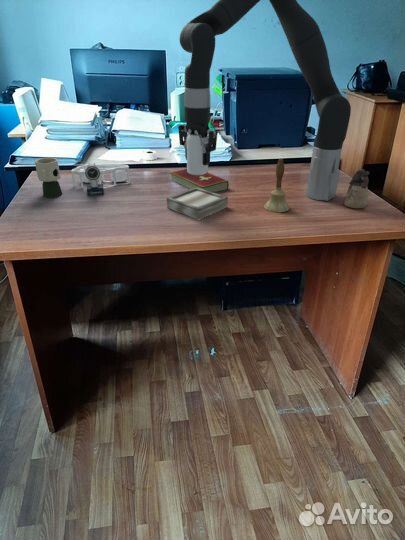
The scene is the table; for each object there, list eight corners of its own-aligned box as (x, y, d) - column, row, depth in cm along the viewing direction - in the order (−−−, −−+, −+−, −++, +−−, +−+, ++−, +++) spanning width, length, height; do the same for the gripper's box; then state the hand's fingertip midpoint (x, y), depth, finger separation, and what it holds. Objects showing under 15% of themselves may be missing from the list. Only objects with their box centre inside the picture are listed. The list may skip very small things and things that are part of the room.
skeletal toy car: (131, 181, 154) (129, 162, 150) (129, 190, 145) (127, 171, 141) (79, 182, 153) (76, 163, 149) (73, 192, 143) (69, 172, 140)
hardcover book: (194, 176, 160) (194, 165, 158) (228, 190, 146) (228, 179, 144) (169, 182, 154) (169, 171, 152) (202, 197, 140) (202, 186, 138)
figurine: (356, 199, 138) (363, 165, 131) (370, 207, 132) (379, 171, 126) (339, 202, 135) (346, 167, 129) (353, 209, 130) (361, 173, 124)
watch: (87, 199, 136) (83, 168, 131) (88, 191, 143) (83, 161, 137) (104, 198, 138) (100, 167, 132) (104, 190, 144) (100, 160, 139)
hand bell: (270, 213, 127) (275, 164, 119) (260, 204, 134) (264, 156, 125) (293, 211, 129) (300, 162, 120) (282, 202, 136) (288, 154, 127)
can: (207, 175, 122) (208, 135, 116) (186, 175, 122) (185, 135, 116) (207, 169, 127) (208, 130, 121) (187, 169, 127) (187, 130, 121)
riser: (227, 207, 131) (227, 197, 129) (198, 220, 122) (198, 209, 120) (196, 197, 139) (196, 187, 137) (167, 208, 130) (166, 197, 128)
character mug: (60, 203, 133) (52, 164, 127) (38, 203, 133) (30, 165, 126) (67, 192, 143) (61, 155, 136) (47, 192, 142) (39, 155, 136)
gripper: (224, 106, 113) (223, 164, 121) (188, 100, 121) (189, 155, 129) (207, 109, 108) (206, 170, 116) (170, 103, 116) (172, 160, 125)
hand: (197, 162), depth 123 cm, fingers closed on can, 6 cm apart
